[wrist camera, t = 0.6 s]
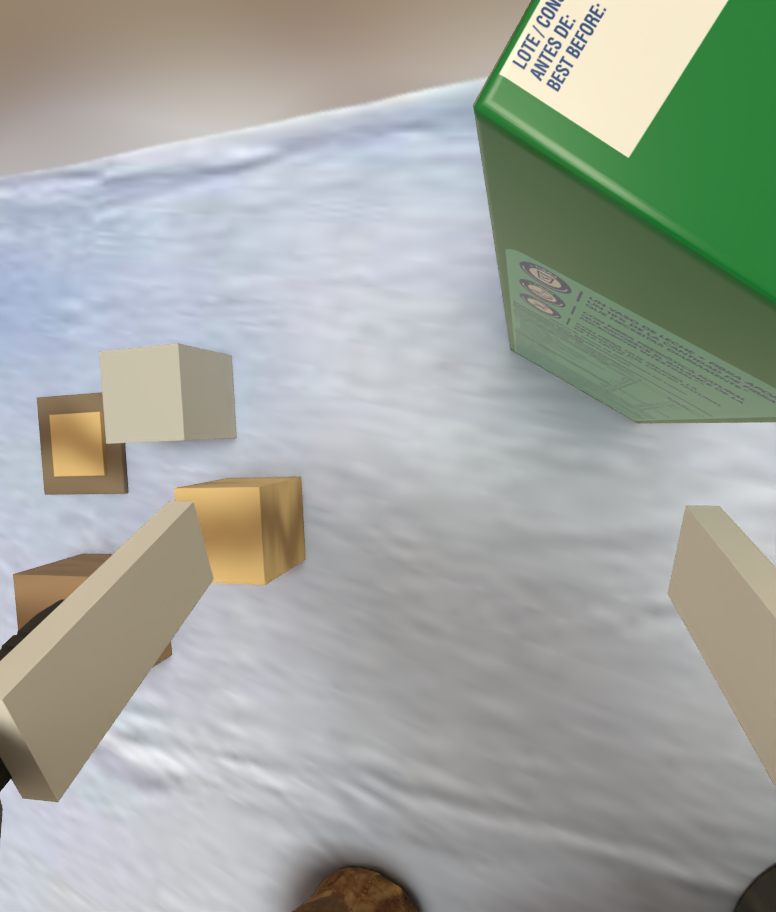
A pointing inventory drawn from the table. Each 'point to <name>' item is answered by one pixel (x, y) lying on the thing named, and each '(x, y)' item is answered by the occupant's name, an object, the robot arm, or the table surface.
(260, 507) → the maple cube
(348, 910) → the shell
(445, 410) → the table surface
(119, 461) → the tile
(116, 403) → the beige cube
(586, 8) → the milk carton
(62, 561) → the walnut block
